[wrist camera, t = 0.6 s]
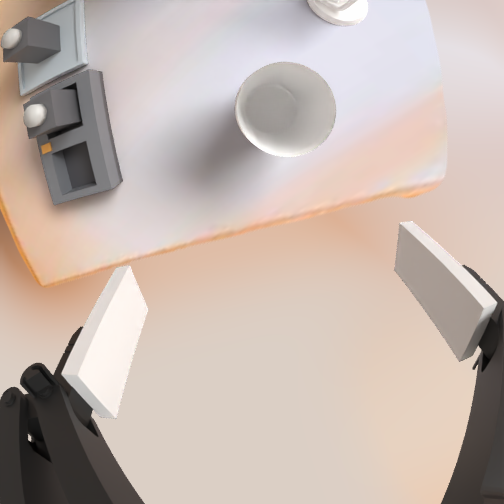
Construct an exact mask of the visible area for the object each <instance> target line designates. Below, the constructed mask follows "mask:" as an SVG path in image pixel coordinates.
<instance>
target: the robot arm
mask: <svg viewBox="0 0 504 504" xmlns="http://www.w3.org/2000/svg"><path fill="white" fill-rule="evenodd" d="M394 270H395V272H396V273H397V274H398V275H399V277H400V278H401V279H402V281H403V282H404V283H405V285H406V286H407V287H408V288H409V290H410V291H411V292H412V294H413V295H414V296H415V298H416V299H417V301H418V302H419V303H420V304H421V306H422V307H423V309H424V310H425V312H426V313H427V314H428V316H429V317H430V319H431V320H432V321H433V323H434V324H435V326H436V327H437V329H438V330H439V332H440V333H441V335H442V336H443V338H444V339H445V340H446V342H447V344H448V345H449V347H450V348H451V350H452V351H453V353H454V354H455V355H456V357H457V359H458V360H459V362H460V361H462V360H465V359H467V358H469V357H471V356H472V355H473V354H474V352H475V350H476V348H477V346H478V345H479V347H480V348H481V350H482V351H481V353H480V355H479V357H478V359H477V361H476V362H475V364H474V366H473V370H474V369H475V368H476V366H477V365H478V371H477V378H476V385H475V391H474V397H473V402H472V407H471V412H470V416H469V421H468V425H467V429H466V433H465V437H464V440H463V444H462V447H461V451H460V454H459V457H458V461H457V463H456V466H455V469H454V472H453V475H452V478H451V480H450V483H449V485H448V488H447V490H446V493H445V495H444V498H443V500H442V503H441V504H504V301H503V300H502V299H501V298H500V297H499V296H498V295H497V294H496V293H495V291H494V290H493V289H492V288H491V287H490V286H489V285H488V284H486V282H485V281H484V280H483V279H482V278H480V276H479V275H478V274H477V273H476V272H475V271H474V270H472V269H471V268H469V267H467V266H465V265H461V264H460V263H459V262H458V261H456V260H455V259H454V258H453V257H452V256H451V255H450V254H449V253H448V252H447V251H446V250H445V249H443V248H442V247H441V246H440V245H439V244H438V243H437V242H436V241H435V240H434V239H432V238H431V237H430V236H429V235H428V234H427V233H426V232H424V231H423V230H422V229H421V228H420V227H418V226H417V225H416V224H415V223H414V222H413V221H409V222H402V223H399V234H398V244H397V253H396V261H395V269H394ZM147 312H148V307H147V305H146V303H145V301H144V298H143V296H142V294H141V291H140V289H139V287H138V284H137V282H136V280H135V277H134V275H133V272H132V270H131V267H130V265H128V266H122V267H116V269H115V271H114V273H113V274H112V276H111V278H110V279H109V281H108V283H107V284H106V286H105V288H104V290H103V292H102V293H101V295H100V297H99V299H98V300H97V302H96V304H95V306H94V308H93V310H92V312H91V314H90V315H89V318H88V319H87V321H86V323H85V325H84V327H80V328H79V329H78V330H77V331H76V332H75V333H74V334H73V336H72V338H71V339H70V341H69V343H68V346H67V347H66V350H65V353H64V354H63V356H62V358H61V360H60V362H59V364H58V366H57V368H56V370H55V373H54V375H52V374H51V373H50V371H49V370H48V369H47V368H46V367H45V365H44V364H42V363H35V364H33V365H31V366H29V367H28V368H27V369H26V370H25V371H24V373H23V374H22V376H21V379H20V384H21V385H22V387H23V388H24V389H25V390H26V391H27V392H28V393H29V394H25V395H24V394H23V393H22V392H21V391H20V390H19V389H18V388H16V387H11V388H9V389H7V390H6V391H5V392H4V393H3V395H2V397H1V399H0V504H145V503H144V502H143V501H142V499H141V498H140V497H139V495H138V494H137V492H136V491H135V489H134V488H133V487H132V485H131V483H130V482H129V481H128V479H127V477H126V476H125V474H124V473H123V471H122V469H121V468H120V466H119V464H118V463H117V461H116V459H115V458H114V456H113V454H112V453H111V451H110V449H109V447H108V445H107V444H106V442H105V440H104V438H103V436H102V434H101V432H100V430H99V428H98V427H97V424H96V422H95V421H94V419H93V418H92V417H91V414H92V410H94V411H95V412H96V413H97V414H98V415H99V416H100V417H103V418H113V419H116V418H117V415H118V411H119V407H120V403H121V399H122V395H123V391H124V387H125V383H126V380H127V377H128V373H129V370H130V366H131V363H132V359H133V356H134V353H135V349H136V346H137V343H138V340H139V337H140V333H141V330H142V327H143V324H144V321H145V318H146V315H147ZM28 434H29V435H30V436H31V439H32V440H31V442H30V441H29V440H28Z"/></svg>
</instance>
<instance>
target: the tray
mask: <svg viewBox="0 0 504 504" xmlns="http://www.w3.org/2000/svg"><path fill="white" fill-rule="evenodd" d="M36 19H39V20H43V21H46V22H49V23H53V24H56V25H59V26H60V45H61V51H60V52H58V53H56V54H54V55H52V56H50V57H49V58H47V59H45V60H43V61H41V62H40V63H38V64H34V63H18V75H19V87H20V96H23V95H27V94H29V93H31V92H33V91H34V90H36V89H38V88H40V87H41V86H43V85H45V84H47V83H49V82H51V81H53V80H55V79H57V78H59V77H61V76H63V75H65V74H67V73H69V72H71V71H74V70H76V69H78V68H80V67H83V66H85V65H87V64H88V59H87V48H86V34H85V14H84V0H68V1H66V2H64V3H62V4H60V5H58V6H57V7H55V8H53V9H51V10H49V11H48V12H46V13H44V14H43V15H41V16H39V17H38V18H36Z"/></svg>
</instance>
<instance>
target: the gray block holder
mask: <svg viewBox="0 0 504 504" xmlns="http://www.w3.org/2000/svg"><path fill="white" fill-rule="evenodd" d="M23 106H24V123H25V125H26V126H27V131H28V136H29V139H32V138H35V137H37V142H38V147H39V151H40V156H41V160H42V164H43V168H44V172H45V176H46V180H47V183H48V187H49V190H50V194H51V197H52V200H53V204H54V205H57V204H60V203H63V202H67V201H70V200H73V199H77V198H80V197H84V196H88V195H91V194H95V193H99V192H103V191H107V190H111V189H113V188H114V187H115V186H117V185H118V184H119V183H121V182H122V181H123V180H122V176H121V172H120V167H119V163H118V159H117V154H116V150H115V145H114V140H113V135H112V130H111V125H110V120H109V114H108V108H107V102H106V96H105V90H104V83H103V75H102V72H100V71H95V70H86V71H84V72H81V73H79V74H77V75H75V76H72V77H70V78H68V79H66V80H64V81H62V82H60V83H58V84H56V85H54V86H52V87H50V88H48V89H46V90H44V91H42V92H40V93H38V94H37V95H35V96H33V97H31V98H30V101H29V102H27V103H25V104H24V105H23Z"/></svg>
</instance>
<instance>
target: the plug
mask: <svg viewBox="0 0 504 504" xmlns="http://www.w3.org/2000/svg"><path fill="white" fill-rule="evenodd" d="M1 47H2V48H3V62H18V63H34V64H38V63H40V62H41V61H43V60H45V59H47V58H49V57H50V56H52V55H54V54H56V53H58V52H60V51H61V45H60V26H59V25H56V24H53V23H49V22H46V21H43V20H39V19H35V18H32V17H27V18H25V19H24V20H22V21H21V22H19V23H18V24H16V25H15V26H14V27H12V28H11V29H9V30H7V31H6V32H5V33H4V35H3V37H2V40H1Z"/></svg>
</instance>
